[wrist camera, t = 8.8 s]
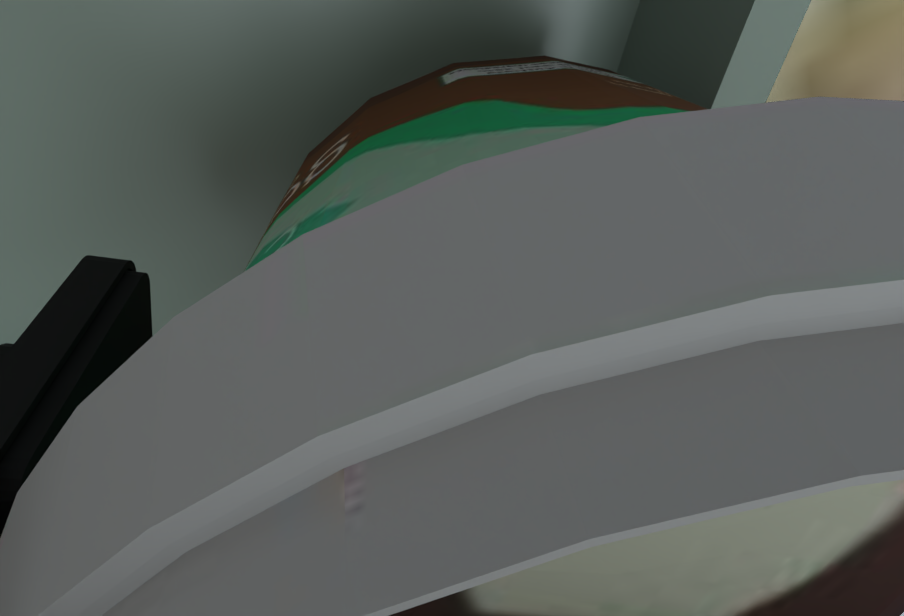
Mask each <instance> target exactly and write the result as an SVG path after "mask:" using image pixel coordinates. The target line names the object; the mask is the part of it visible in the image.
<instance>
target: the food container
mask: <svg viewBox="0 0 904 616" xmlns="http://www.w3.org/2000/svg"><path fill="white" fill-rule="evenodd" d="M903 612H904V101H892V100H872V99H853V98H833V97H812V98H803V99H795V100H786V101H777V102H768V103H759V104H751V105H742V106H733V107H724V108H715V109H706V108H704V107H701V106H699V105H696V104H694V103H691V102H689V101H686V100H684V99H681V98H679V97H676V96H674V95H671V94H669V93H666V92H664V91H661V90H659V89H656V88H653V87H651V86H648V85H646V84H643V83H641V82H638V81H636V80H633V79H631V78H628V77H626V76H623V75H621V74H618V73H616V72H613V71H611V70H608V69H603V68H599V67H594V66H590V65H585V64H581V63H576V62H572V61H567V60H563V59H558V58H554V57H549V56H545V55H544V56H532V57H520V58H507V59H495V60H482V61H470V62H457V63H452V64H449V65H447V66H445V67H442V68H440V69H438V70H435V71H433V72H431V73H428V74H426V75H423V76H421V77H419V78H416V79H414V80H412V81H409V82H407V83H404V84H402V85H400V86H397V87H395V88H393V89H390V90H388V91H386V92H383V93H381V94H378V95H376V96H374V97H371V98H370V99H369V100H367V101H366V102H365V103H364V104H363V105H362V106H361V107H360V108H358V109H357V110H356V111H355V112H354V113H353V114H352V115H351V116H350V117H348V118H347V119H346V120H345V121H344V122H343V123H342V124H341V125H339V126H338V127H337V128H336V129H335V130H334V131H333V132H332V133H331V134H329V135H328V136H327V137H326V138H325V139H324V140H323V141H322V142H320V143H319V144H318V145H317V146H316V147H315V148H314V149H313V150H312V151H310V152H309V153H308V155H307V157H306V158H305V160H304V162H303V164H302V165H301V167H300V169H299V171H298V172H297V174H296V176H295V178H294V180H293V181H292V183H291V185H290V187H289V188H288V190H287V192H286V194H285V196H284V197H283V199H282V201H281V203H280V204H279V206H278V208H277V210H276V212H275V214H274V216H273V218H272V219H271V221H270V223H269V225H268V227H267V229H266V231H265V233H264V234H263V236H262V238H261V240H260V242H259V244H258V246H257V248H256V250H255V251H254V253H253V255H252V257H251V259H250V261H249V263H248V265H247V266H246V268H245V270H244V272H243V273H242V274H240V275H239V276H237V277H235V278H234V279H232V280H231V281H229V282H228V283H226V284H224V285H223V286H221V287H220V288H218V289H217V290H215V291H214V292H212V293H210V294H209V295H207V296H206V297H204V298H203V299H201V300H199V301H198V302H196V303H195V304H193V305H192V306H190V307H189V308H187V309H185V310H184V311H182V312H181V313H179V314H178V315H176V316H174V317H173V318H172V319H171V320H170V321H169V322H168V323H167V324H165V325H164V326H163V327H162V328H161V329H160V330H159V331H158V332H157V333H156V334H155V335H154V336H153V337H151V338H150V339H149V340H148V341H147V342H146V343H145V344H144V345H143V346H142V347H141V348H140V349H139V350H137V351H136V352H135V353H134V354H133V355H132V356H131V357H130V358H129V359H128V360H127V361H126V362H125V363H123V364H122V365H121V366H120V367H119V368H118V369H117V370H116V371H115V372H114V373H113V374H112V375H110V376H109V377H108V378H107V379H106V380H105V381H104V382H103V383H102V384H101V385H100V386H99V387H98V388H96V389H95V390H94V391H93V392H92V393H91V394H90V395H89V396H88V397H87V398H86V399H85V400H84V401H82V402H81V403H80V404H79V405H78V406H77V408H76V409H75V410H74V412H73V413H72V415H71V416H70V418H69V419H68V420H67V422H66V423H65V425H64V426H63V428H62V429H61V431H60V432H59V433H58V435H57V436H56V438H55V439H54V441H53V442H52V443H51V445H50V446H49V448H48V449H47V451H46V452H45V453H44V455H43V456H42V458H41V459H40V461H39V462H38V463H37V465H36V466H35V468H34V469H33V471H32V472H31V473H30V475H29V476H28V478H27V479H26V481H25V482H24V483H23V485H22V486H21V488H20V489H19V491H18V492H17V494H16V497H15V500H14V503H13V505H12V508H11V511H10V513H9V516H8V519H7V521H6V524H5V527H4V530H3V532H2V535H1V538H0V616H900V615H901V614H902V613H903Z"/></svg>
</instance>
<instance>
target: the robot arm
mask: <svg viewBox="0 0 904 616" xmlns="http://www.w3.org/2000/svg"><path fill="white" fill-rule="evenodd" d="M151 337H153V336H152V314H151V293H150V279H149V275H148V274H147V273H144V272H136V267H135V264H134V262H133V261H132V260H124V259H116V258H108V257H100V256H92V255H86V256H85V257H84V258H82V259H81V261H80V262H79V263H78V264H77V266H76V267H75V268H74V270H73V271H72V272H71V273H70V275H69V276H68V277H67V278H66V280H65V281H64V282H63V283H62V285H61V286H60V287H59V288H58V290H57V291H56V292H55V293H54V295H53V296H52V297H51V298H50V300H49V301H48V302H47V303H46V305H45V306H44V307H43V308H42V310H41V311H40V312H39V313H38V315H37V316H36V317H35V318H34V320H33V321H32V322H31V323H30V325H29V326H28V327H27V328H26V330H25V331H24V332H23V333H22V335H21V336H20V337H19V338H18V340H17V341H16V342H15V343H14V344H10V343H4V344H1V345H0V538H1V535H2V532H3V530H4V527H5V524H6V521H7V519H8V516H9V513H10V511H11V508H12V505H13V503H14V500H15V497H16V494H17V492H18V491H19V489H20V488H21V486H22V485H23V483H24V482H25V481H26V479H27V478H28V476H29V475H30V473H31V472H32V471H33V469H34V468H35V466H36V465H37V463H38V462H39V461H40V459H41V458H42V456H43V455H44V453H45V452H46V451H47V449H48V448H49V446H50V445H51V443H52V442H53V441H54V439H55V438H56V436H57V435H58V433H59V432H60V431H61V429H62V428H63V426H64V425H65V423H66V422H67V420H68V419H69V418H70V416H71V415H72V413H73V412H74V410H75V409H76V408H77V406H78V405H79V404H80V403H81V402H82V401H84V400H85V399H86V398H87V397H88V396H89V395H90V394H91V393H92V392H93V391H94V390H95V389H96V388H98V387H99V386H100V385H101V384H102V383H103V382H104V381H105V380H106V379H107V378H108V377H109V376H110V375H112V374H113V373H114V372H115V371H116V370H117V369H118V368H119V367H120V366H121V365H122V364H123V363H125V362H126V361H127V360H128V359H129V358H130V357H131V356H132V355H133V354H134V353H135V352H136V351H137V350H139V349H140V348H141V347H142V346H143V345H144V344H145V343H146V342H147V341H148V340H149V339H150V338H151Z"/></svg>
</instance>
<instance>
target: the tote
mask: <svg viewBox="0 0 904 616" xmlns="http://www.w3.org/2000/svg"><path fill="white" fill-rule="evenodd" d="M810 2H811V0H0V345H1V344H4V343H10V344H14V343H15V342H16V341H17V340H18V338H19V337H20V336H21V335H22V333H23V332H24V331H25V330H26V328H27V327H28V326H29V325H30V323H31V322H32V321H33V320H34V318H35V317H36V316H37V315H38V313H39V312H40V311H41V310H42V308H43V307H44V306H45V305H46V303H47V302H48V301H49V300H50V298H51V297H52V296H53V295H54V293H55V292H56V291H57V290H58V288H59V287H60V286H61V285H62V283H63V282H64V281H65V280H66V278H67V277H68V276H69V275H70V273H71V272H72V271H73V270H74V268H75V267H76V266H77V264H78V263H79V262H80V261H81V259H82V258H84V257H85V256H86V255H92V256H100V257H108V258H116V259H124V260H132V261H133V262H134V264H135V267H136V272H144V273H147V274H148V275H149V279H150V293H151V314H152V336H154V335H155V334H156V333H157V332H158V331H159V330H160V329H161V328H162V327H163V326H164V325H165V324H167V323H168V322H169V321H170V320H171V319H172V318H173V317H174V316H176V315H178V314H179V313H181V312H182V311H184V310H185V309H187V308H189V307H190V306H192V305H193V304H195V303H196V302H198V301H199V300H201V299H203V298H204V297H206V296H207V295H209V294H210V293H212V292H214V291H215V290H217V289H218V288H220V287H221V286H223V285H224V284H226V283H228V282H229V281H231V280H232V279H234V278H235V277H237V276H239V275H240V274H242V273H243V272H244V270H245V268H246V266H247V265H248V263H249V261H250V259H251V257H252V255H253V253H254V251H255V250H256V248H257V246H258V244H259V242H260V240H261V238H262V236H263V234H264V233H265V231H266V229H267V227H268V225H269V223H270V221H271V219H272V218H273V216H274V214H275V212H276V210H277V208H278V206H279V204H280V203H281V201H282V199H283V197H284V196H285V194H286V192H287V190H288V188H289V187H290V185H291V183H292V181H293V180H294V178H295V176H296V174H297V172H298V171H299V169H300V167H301V165H302V164H303V162H304V160H305V158H306V157H307V155H308V153H309V152H310V151H312V150H313V149H314V148H315V147H316V146H317V145H318V144H319V143H320V142H322V141H323V140H324V139H325V138H326V137H327V136H328V135H329V134H331V133H332V132H333V131H334V130H335V129H336V128H337V127H338V126H339V125H341V124H342V123H343V122H344V121H345V120H346V119H347V118H348V117H350V116H351V115H352V114H353V113H354V112H355V111H356V110H357V109H358V108H360V107H361V106H362V105H363V104H364V103H365V102H366V101H367V100H369V99H370V98H371V97H374V96H376V95H378V94H381V93H383V92H386V91H388V90H390V89H393V88H395V87H397V86H400V85H402V84H404V83H407V82H409V81H412V80H414V79H416V78H419V77H421V76H423V75H426V74H428V73H431V72H433V71H435V70H438V69H440V68H442V67H445V66H447V65H449V64H452V63H457V62H470V61H482V60H495V59H507V58H520V57H532V56H544V55H545V56H549V57H554V58H558V59H563V60H567V61H572V62H576V63H581V64H585V65H590V66H594V67H599V68H603V69H608V70H611V71H613V72H616V73H618V74H621V75H623V76H626V77H628V78H631V79H633V80H636V81H638V82H641V83H643V84H646V85H648V86H651V87H653V88H656V89H659V90H661V91H664V92H666V93H669V94H671V95H674V96H676V97H679V98H681V99H684V100H686V101H689V102H691V103H694V104H696V105H699V106H701V107H704V108H706V109H715V108H724V107H733V106H742V105H751V104H759V103H766V100H767V98H768V96H769V94H770V91H771V89H772V87H773V85H774V82H775V80H776V78H777V76H778V74H779V71H780V69H781V67H782V65H783V62H784V60H785V58H786V56H787V53H788V51H789V49H790V47H791V44H792V42H793V40H794V38H795V35H796V33H797V31H798V29H799V27H800V24H801V22H802V20H803V18H804V15H805V13H806V11H807V9H808V6H809V4H810Z"/></svg>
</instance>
